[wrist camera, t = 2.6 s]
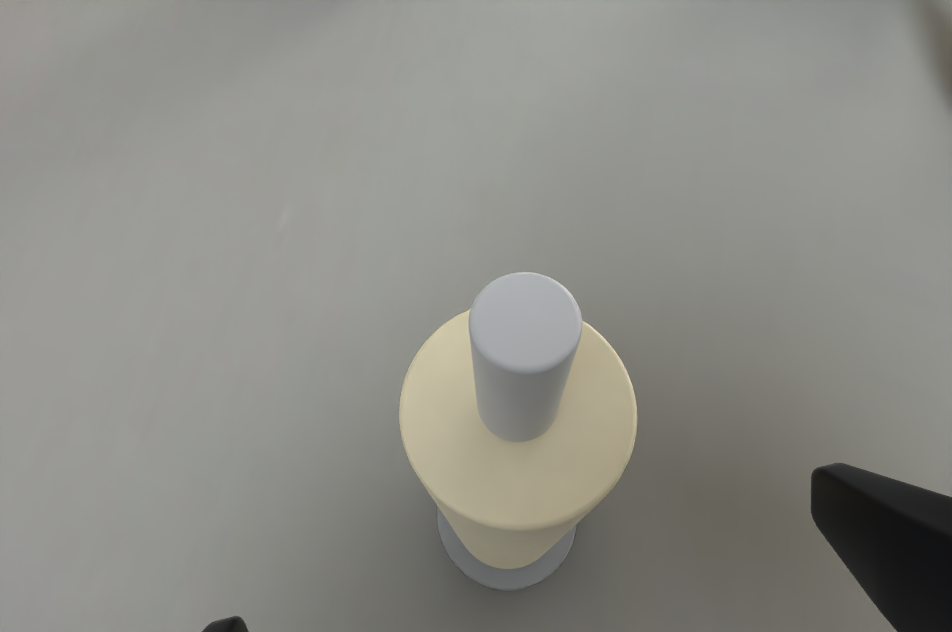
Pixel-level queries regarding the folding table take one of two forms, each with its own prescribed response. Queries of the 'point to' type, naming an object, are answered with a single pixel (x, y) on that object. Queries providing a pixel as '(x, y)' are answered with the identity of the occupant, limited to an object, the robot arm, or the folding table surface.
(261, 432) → the folding table surface
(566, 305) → the kitchen roll stand
